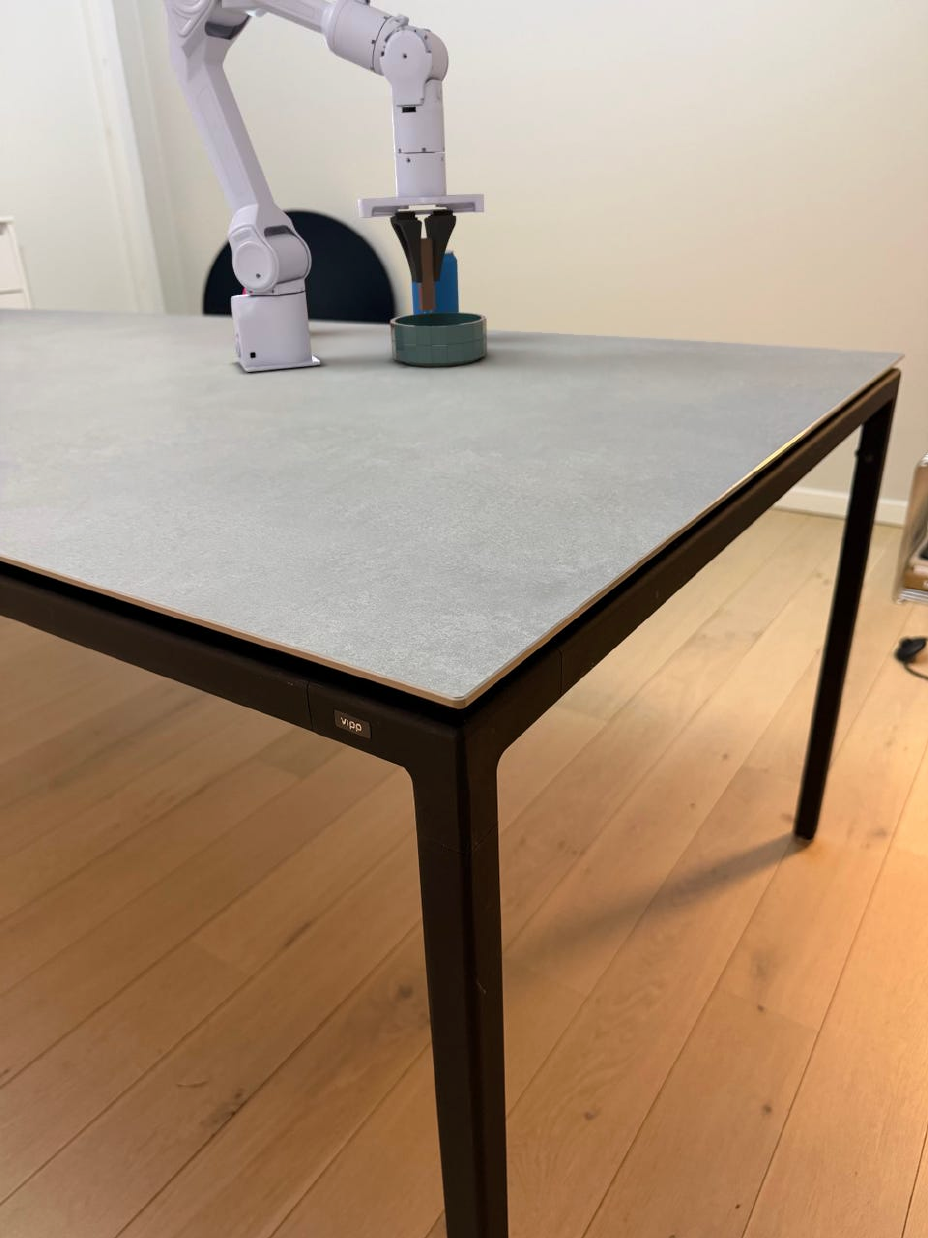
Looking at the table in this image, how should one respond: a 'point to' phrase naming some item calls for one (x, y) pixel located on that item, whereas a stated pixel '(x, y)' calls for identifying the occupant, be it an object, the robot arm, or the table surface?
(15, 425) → the table surface
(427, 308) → the stirring stick
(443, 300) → the beverage can
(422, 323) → the bowl
